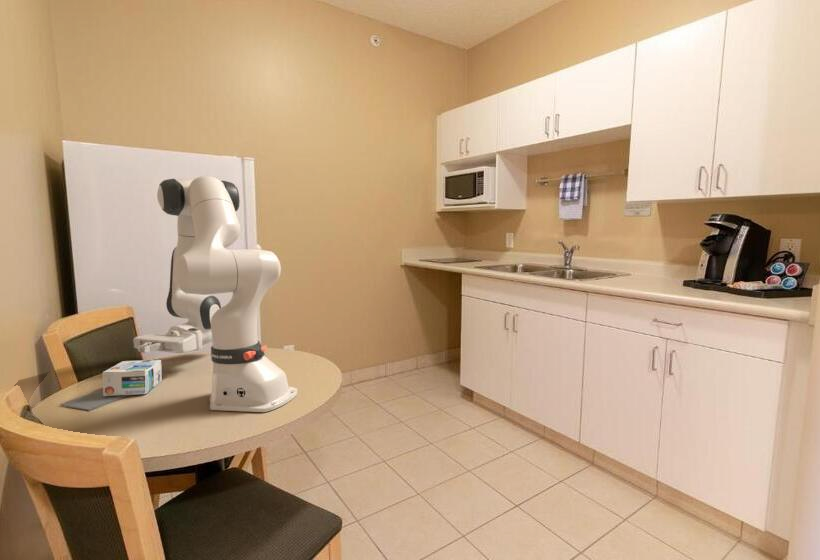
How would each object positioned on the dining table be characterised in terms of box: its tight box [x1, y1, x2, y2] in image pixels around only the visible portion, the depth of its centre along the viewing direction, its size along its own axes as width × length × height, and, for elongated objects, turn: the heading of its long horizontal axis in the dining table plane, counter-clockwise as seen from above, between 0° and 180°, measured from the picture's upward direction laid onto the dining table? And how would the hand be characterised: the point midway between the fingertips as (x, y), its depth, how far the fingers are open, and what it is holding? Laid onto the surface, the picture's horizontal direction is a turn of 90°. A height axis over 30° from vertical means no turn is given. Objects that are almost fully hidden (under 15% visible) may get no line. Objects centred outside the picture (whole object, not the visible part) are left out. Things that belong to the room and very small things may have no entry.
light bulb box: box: [102, 359, 163, 396], centre depth 113 cm, size 11×7×11 cm
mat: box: [59, 388, 130, 412], centre depth 108 cm, size 11×14×1 cm
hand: (141, 349), depth 119 cm, fingers closed
